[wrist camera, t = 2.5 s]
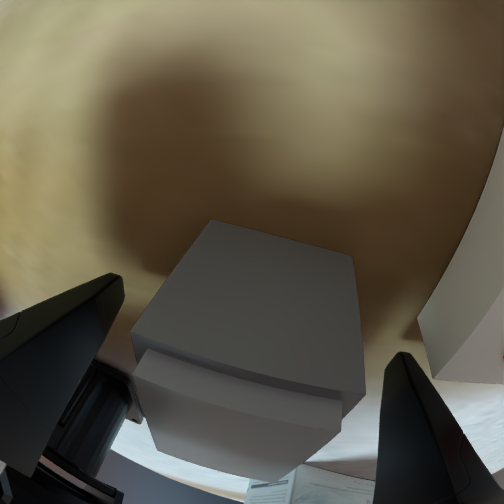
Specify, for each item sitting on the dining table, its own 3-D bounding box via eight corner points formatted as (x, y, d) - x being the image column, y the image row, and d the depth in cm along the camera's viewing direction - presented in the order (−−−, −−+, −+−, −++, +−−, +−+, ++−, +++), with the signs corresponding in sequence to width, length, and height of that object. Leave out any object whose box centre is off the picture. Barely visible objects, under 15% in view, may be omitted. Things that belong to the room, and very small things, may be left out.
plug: (301, 362, 10) (282, 486, 6) (200, 335, 11) (148, 449, 7) (351, 254, 8) (366, 425, 4) (211, 218, 8) (112, 356, 4)
